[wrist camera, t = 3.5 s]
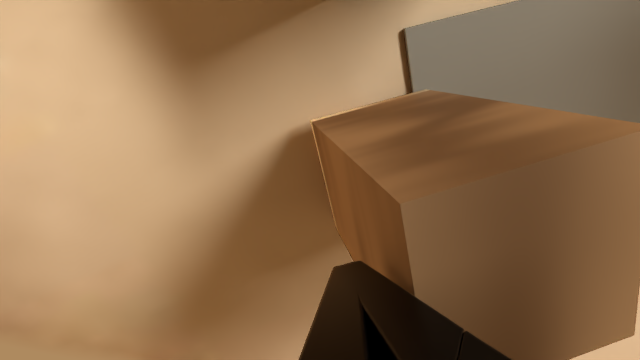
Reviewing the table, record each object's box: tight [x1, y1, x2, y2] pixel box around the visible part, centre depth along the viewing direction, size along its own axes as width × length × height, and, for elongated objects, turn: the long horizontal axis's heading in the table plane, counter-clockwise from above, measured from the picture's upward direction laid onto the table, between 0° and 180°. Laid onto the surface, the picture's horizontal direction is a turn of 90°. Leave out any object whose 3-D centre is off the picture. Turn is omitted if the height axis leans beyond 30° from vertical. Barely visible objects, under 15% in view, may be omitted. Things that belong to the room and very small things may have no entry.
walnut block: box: [310, 89, 640, 360], centre depth 11 cm, size 5×5×9 cm
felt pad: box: [404, 0, 640, 123], centre depth 16 cm, size 10×10×1 cm
